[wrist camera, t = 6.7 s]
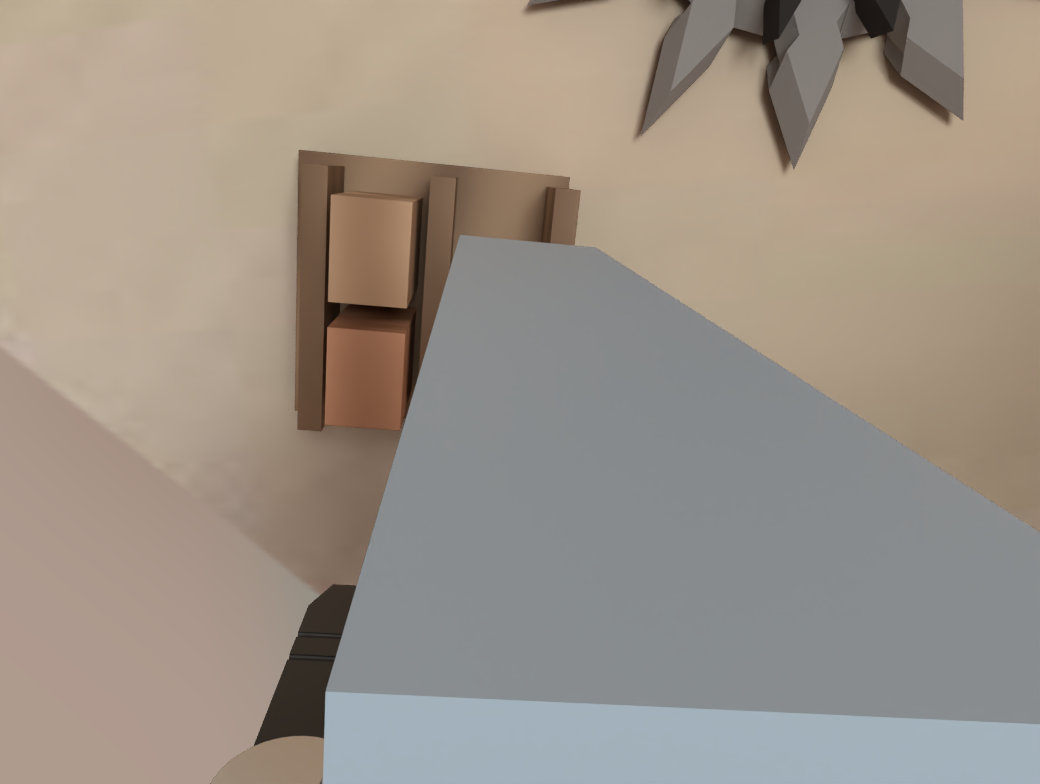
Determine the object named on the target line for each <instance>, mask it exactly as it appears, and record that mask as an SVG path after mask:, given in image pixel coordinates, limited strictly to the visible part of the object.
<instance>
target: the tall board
mask: <svg viewBox="0 0 1040 784" xmlns="http://www.w3.org/2000/svg"><path fill="white" fill-rule="evenodd" d="M323 784H1040V532H1038V531H1037V530H1035V529H1034V528H1032V527H1031V526H1029V525H1027V524H1026V523H1024V522H1023V521H1021V520H1020V519H1018V518H1017V517H1015V516H1013V515H1012V514H1010V513H1009V512H1007V511H1006V510H1004V509H1003V508H1001V507H999V506H998V505H996V504H995V503H993V502H992V501H990V500H988V499H987V498H985V497H984V496H982V495H981V494H979V493H978V492H976V491H974V490H973V489H971V488H970V487H968V486H967V485H965V484H964V483H962V482H960V481H959V480H957V479H956V478H954V477H953V476H951V475H950V474H948V473H946V472H945V471H943V470H942V469H940V468H939V467H937V466H936V465H934V464H932V463H931V462H929V461H928V460H926V459H925V458H923V457H921V456H920V455H918V454H917V453H915V452H914V451H912V450H911V449H909V448H907V447H906V446H904V445H903V444H901V443H900V442H898V441H897V440H895V439H893V438H892V437H890V436H889V435H887V434H886V433H884V432H883V431H881V430H879V429H878V428H876V427H875V426H873V425H872V424H870V423H869V422H867V421H865V420H864V419H862V418H861V417H859V416H858V415H856V414H854V413H853V412H851V411H850V410H848V409H847V408H845V407H844V406H842V405H840V404H839V403H837V402H836V401H834V400H833V399H831V398H830V397H828V396H826V395H825V394H823V393H822V392H820V391H819V390H817V389H816V388H814V387H812V386H811V385H809V384H808V383H806V382H805V381H803V380H802V379H800V378H798V377H797V376H795V375H794V374H792V373H791V372H789V371H787V370H786V369H784V368H783V367H781V366H780V365H778V364H777V363H775V362H773V361H772V360H770V359H769V358H767V357H766V356H764V355H763V354H761V353H759V352H758V351H756V350H755V349H753V348H752V347H750V346H749V345H747V344H745V343H744V342H742V341H741V340H739V339H738V338H736V337H734V336H733V335H731V334H730V333H728V332H727V331H725V330H724V329H722V328H720V327H719V326H717V325H716V324H714V323H713V322H711V321H710V320H708V319H706V318H705V317H703V316H702V315H700V314H699V313H697V312H696V311H694V310H692V309H691V308H689V307H688V306H686V305H685V304H683V303H682V302H680V301H678V300H677V299H675V298H674V297H672V296H671V295H669V294H667V293H666V292H664V291H663V290H661V289H660V288H658V287H657V286H655V285H653V284H652V283H650V282H649V281H647V280H646V279H644V278H643V277H641V276H639V275H638V274H636V273H635V272H633V271H632V270H630V269H629V268H627V267H625V266H624V265H622V264H621V263H619V262H618V261H616V260H615V259H613V258H611V257H610V256H608V255H607V254H605V253H604V252H602V251H600V250H599V249H597V248H595V247H584V246H574V245H563V244H552V243H542V242H531V241H520V240H510V239H499V238H488V237H478V236H467V235H460V237H459V240H458V243H457V247H456V250H455V254H454V257H453V260H452V264H451V267H450V271H449V274H448V277H447V281H446V284H445V288H444V291H443V294H442V298H441V301H440V304H439V308H438V311H437V315H436V318H435V321H434V325H433V328H432V332H431V335H430V338H429V342H428V345H427V349H426V352H425V355H424V359H423V362H422V366H421V369H420V372H419V376H418V379H417V383H416V386H415V389H414V393H413V396H412V400H411V403H410V406H409V410H408V413H407V417H406V420H405V423H404V427H403V430H402V434H401V437H400V440H399V444H398V447H397V451H396V454H395V457H394V461H393V464H392V468H391V471H390V474H389V478H388V481H387V485H386V488H385V491H384V495H383V498H382V501H381V505H380V508H379V512H378V515H377V518H376V522H375V525H374V529H373V532H372V535H371V539H370V542H369V546H368V549H367V552H366V556H365V559H364V563H363V566H362V569H361V573H360V576H359V580H358V583H357V586H356V590H355V593H354V597H353V600H352V603H351V607H350V610H349V614H348V617H347V620H346V624H345V627H344V631H343V634H342V637H341V641H340V644H339V648H338V651H337V654H336V658H335V661H334V665H333V668H332V671H331V675H330V678H329V681H328V685H327V688H326V693H325V727H324V761H323Z"/></svg>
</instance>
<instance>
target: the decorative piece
mask: <svg viewBox="0 0 1040 784" xmlns="http://www.w3.org/2000/svg"><path fill="white" fill-rule="evenodd" d="M551 1H557V0H530V2H529V3H528V5H533V4H539V3H545V2H551ZM689 1H690V3H691V4H690V5H689V7H688V8H687V9H686V10H685V12H684V13H682V14H681V15H679V16H678V17H677V18H675V19H674V21H673V23H672V25H671V26H670V28H669V30H668V32H667V34H666V36H665V37H664V41H663V46H662V50H661V54H660V58H659V62H658V66H657V71H656V75H655V79H654V83H653V87H652V92H651V96H650V100H649V104H648V108H647V113H646V117H645V121H644V125H643V129H642V133H641V135H642V134H643V133H644V132H645V131H646V130H647V129H648V128H649V127H650V126H651V125H652V124H653V123H654V122H655V121H656V120H657V119H658V118H659V117H660V116H661V115H662V114H663V113H664V112H665V111H666V110H667V109H668V108H669V107H670V106H671V105H672V104H673V103H674V102H675V101H676V100H677V99H678V98H679V97H680V96H681V95H682V94H683V93H684V92H685V91H686V90H687V88H688V87H689V86H690V85H691V84H692V83H693V82H694V81H695V80H696V79H697V78H698V77H699V76H700V75H701V74H702V73H703V72H704V71H705V70H706V69H707V68H708V67H709V66H710V65H711V63H712V61H713V60H714V58H715V56H716V55H717V53H718V52H719V50H720V48H721V47H722V45H723V44H724V42H725V40H726V39H727V37H728V36H729V34H730V32H731V31H732V29H733V28H737V29H740V30H744V31H747V32H751V33H754V34H758V35H761V36H763V45H764V44H766V43H769V42H771V41H774V44H775V48H776V51H777V54H776V55H775V57H774V58H773V59H772V60H771V62H770V63H769V64H768V66H767V75H768V86H769V93H770V96H771V99H772V102H773V105H774V108H775V112H776V115H777V118H778V121H779V124H780V128H781V131H782V134H783V137H784V140H785V144H786V147H787V150H788V153H789V156H790V160H791V163H792V166H793V169H794V168H795V166H796V164H797V162H798V160H799V158H800V155H801V153H802V151H803V149H804V147H805V144H806V142H807V140H808V138H809V136H810V134H811V131H812V129H813V127H814V125H815V123H816V121H817V118H818V116H819V114H820V112H821V110H822V108H823V105H824V103H825V101H826V99H827V97H828V94H829V92H830V90H831V88H832V85H833V82H834V78H835V75H836V72H837V69H838V66H839V62H840V59H841V56H842V53H843V50H844V46H843V43H842V39H843V38H847V37H852V36H856V35H861V34H866V33H868V34H869V36H870V37H871V38H874V37H877V36H880V35H883V34H887V38H886V43H885V49H884V55H885V56H886V57H887V59H888V60H889V61H890V63H891V64H892V65H893V67H894V68H895V69H896V71H897V72H898V73H899V75H900V76H901V77H903V78H904V79H906V80H907V81H908V82H910V83H911V84H913V85H914V86H915V87H917V88H918V89H920V90H921V91H922V92H924V93H925V94H927V95H928V96H929V97H931V98H932V99H934V100H935V101H936V102H938V103H939V104H941V105H942V106H943V107H945V108H946V109H947V110H949V111H950V112H952V113H953V114H954V115H956V116H957V117H959V118H960V119H961V120H963V92H964V66H963V3H962V0H689Z"/></svg>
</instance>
